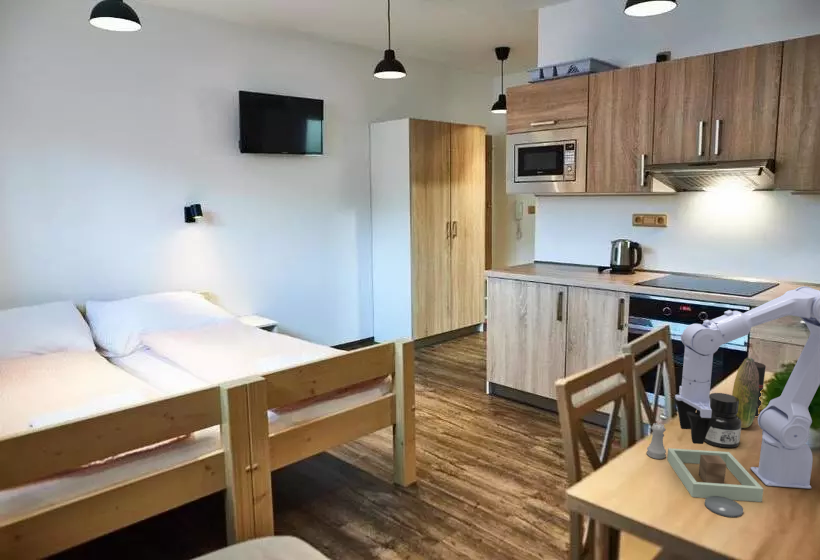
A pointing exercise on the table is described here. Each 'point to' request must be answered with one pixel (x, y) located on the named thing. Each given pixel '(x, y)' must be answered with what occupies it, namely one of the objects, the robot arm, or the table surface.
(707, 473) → the block
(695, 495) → the green rectangular frame
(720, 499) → the coaster
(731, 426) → the ink bottle
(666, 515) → the table surface
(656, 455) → the rook chess piece
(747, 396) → the vegetable
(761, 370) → the deodorant
